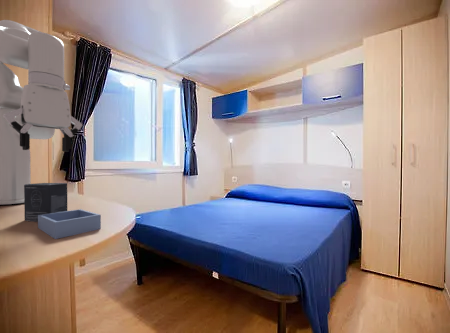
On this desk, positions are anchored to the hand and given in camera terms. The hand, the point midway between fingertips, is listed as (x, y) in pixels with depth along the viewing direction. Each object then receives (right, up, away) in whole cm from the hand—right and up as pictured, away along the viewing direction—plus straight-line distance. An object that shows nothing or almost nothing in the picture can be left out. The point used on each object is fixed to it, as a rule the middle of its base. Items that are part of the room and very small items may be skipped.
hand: (47, 150), depth 61 cm
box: (-1, -20, +1) cm, 20 cm away
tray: (+10, -19, -6) cm, 23 cm away
